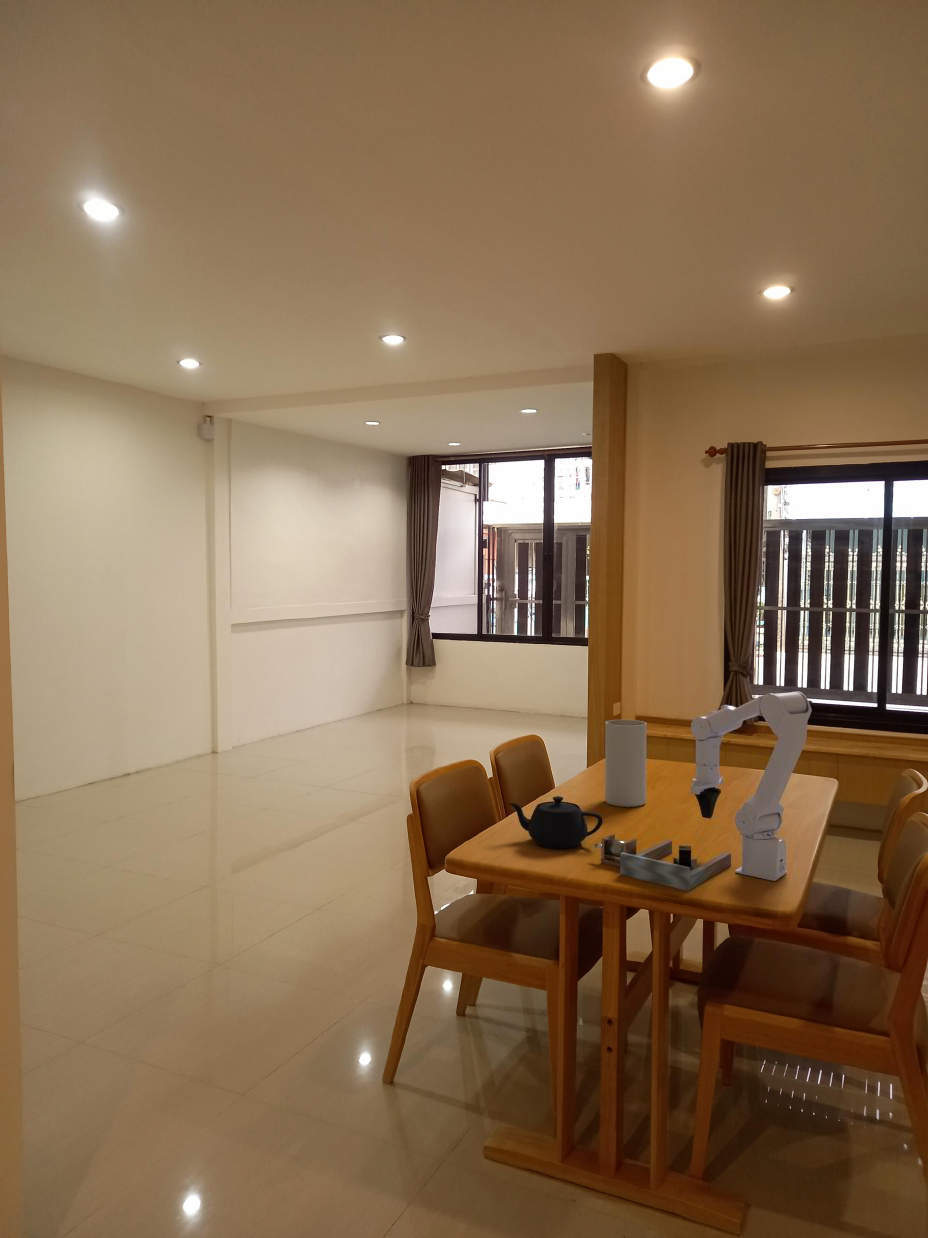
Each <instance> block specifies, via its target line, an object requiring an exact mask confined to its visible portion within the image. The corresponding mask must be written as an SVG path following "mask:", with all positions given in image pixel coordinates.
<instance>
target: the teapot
mask: <svg viewBox="0 0 928 1238" xmlns="http://www.w3.org/2000/svg"><path fill="white" fill-rule="evenodd" d="M563 800H564V797H563V796H559V795H558V796H556V795H555V796H553V797H552V801H543V802H540V803H538V804H536V806H535V807H534V810H533V811H532V813H531V816H530V818H528V817H526V816H525V814H524V811H523V809H522V807H521V805H520V804H518V803H514V802H513V803H511V802H508V805H510V806H511V807H513V808H514V810H515V812H516V815H517V818H518V821H519V825H520V826H521V828H522V829H524V830H525V831H526V832H528V834H529V836H530V838H531V839H532V840H533V841H534V842H535V843H536V844H537V845H539V846H542V847H544V848H549V849H558V850H560V849H571V848H574V847H577V846H580V844H581V843H582V842H583V841H584V840H585V839H587V837H590V836H591V835H593V834H595V833H596V832H598V831H599V830H600V828H601V827H602V826H603V823H604V821H603V820H604V819H603V816H602V815H601V814H600V813H596V812H589V811H582V809H581V807H580V806H579V805H578V804H576V803H573V802H568V801H563ZM585 817H593V818H596V819H597V822H596V825H595V826H594V828H593V829H591V830H590V831H589V827H588V824H587V821H586V818H585Z"/></svg>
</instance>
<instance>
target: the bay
mask: <svg viewBox="0 0 928 1238" xmlns="http://www.w3.org/2000/svg"><path fill="white" fill-rule="evenodd" d="M672 853H673V841H672V840H669V839H665V840H663V841H661V842H659V843H657V844H655V845H653V846H650V847H649V848H646V849H645V850H642V851H640V852H637V853H636V855H632V854H628V853H623V852H622V853H621V858H620V867H619V868H620V869H619V870H620V871H619V874H620V875H621V876H625V877H629V878H634V879H637V880H642V881H645V882H646V881H647V882H650V883H653V884H657V885H662V886H665V887H671V888H675V889H679V890H682V891H685V892H686V891H687V892H690V891H691V890H692V889H693V888H696V887H697V886H699V885H700V884H702V883H704V882H706V881H707V880H709V879H710V878H712V877H714V876H715V875H717V874H719V873H721V872H723V871H724V870H726V869H727V868H729V867H730V866H732V852H728V851H724V852H722V853H721V854H719V855H717V856H715V857H713V858H711V859H710V860H708V861H706V862H705V863H703V864H701V865H699V866H697V868H695V869H694V870H692V871H690V867H686V866H682V865H677V864H673V863H672V862H669V861H664V860H660V859H663V858H665V857H666V856H668V855H670V854H672Z"/></svg>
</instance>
